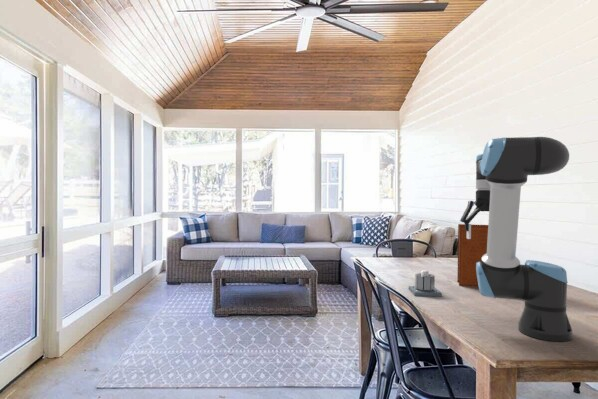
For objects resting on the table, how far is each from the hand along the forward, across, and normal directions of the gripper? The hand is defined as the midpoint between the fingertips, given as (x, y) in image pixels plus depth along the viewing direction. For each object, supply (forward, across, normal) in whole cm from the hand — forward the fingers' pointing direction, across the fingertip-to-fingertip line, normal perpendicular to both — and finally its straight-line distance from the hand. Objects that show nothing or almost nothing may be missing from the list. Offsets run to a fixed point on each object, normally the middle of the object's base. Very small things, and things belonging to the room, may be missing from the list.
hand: (484, 239), depth 169 cm
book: (+26, -11, -27) cm, 39 cm away
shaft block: (+26, +22, -11) cm, 36 cm away
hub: (+24, +22, -11) cm, 35 cm away
